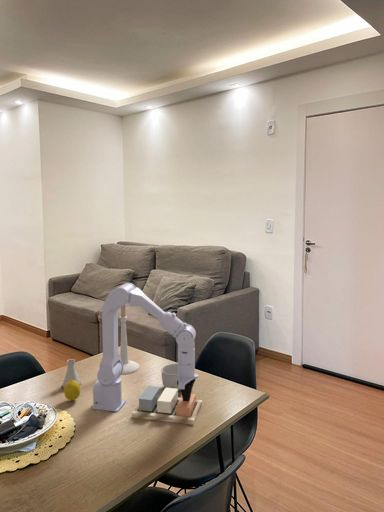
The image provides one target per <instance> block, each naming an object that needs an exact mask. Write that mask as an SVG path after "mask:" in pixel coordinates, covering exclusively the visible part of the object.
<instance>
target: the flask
mask: <svg viewBox="0 0 384 512" xmlns="http://www.w3.org/2000/svg"><path fill="white" fill-rule="evenodd" d="M75 362H76V359H73V358H72V359H70V358H69V359H67V360H66V364H67V368H66V372H65V377H64V379H63V382H62V388H64V389H65V385H66V384H67V383H68V382H69V381H71V380H74V381H77V382H78V383H79V386H80V387H81V385H82V382H81V379H80V377H79V375H78V372H77V370H76V369H77V368H76V367H75Z"/></svg>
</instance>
